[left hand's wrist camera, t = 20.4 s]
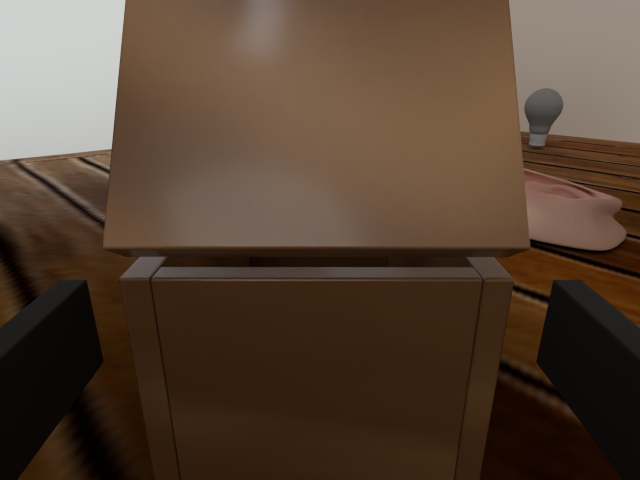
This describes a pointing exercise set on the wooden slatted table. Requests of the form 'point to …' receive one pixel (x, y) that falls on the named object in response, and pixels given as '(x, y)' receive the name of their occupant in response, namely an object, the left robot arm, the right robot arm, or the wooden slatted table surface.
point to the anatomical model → (571, 214)
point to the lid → (316, 130)
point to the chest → (316, 365)
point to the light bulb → (542, 114)
